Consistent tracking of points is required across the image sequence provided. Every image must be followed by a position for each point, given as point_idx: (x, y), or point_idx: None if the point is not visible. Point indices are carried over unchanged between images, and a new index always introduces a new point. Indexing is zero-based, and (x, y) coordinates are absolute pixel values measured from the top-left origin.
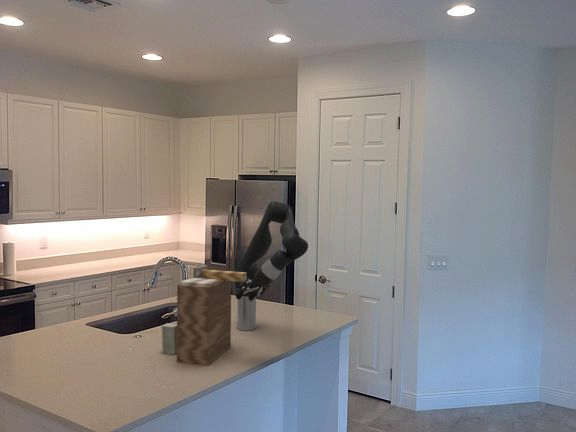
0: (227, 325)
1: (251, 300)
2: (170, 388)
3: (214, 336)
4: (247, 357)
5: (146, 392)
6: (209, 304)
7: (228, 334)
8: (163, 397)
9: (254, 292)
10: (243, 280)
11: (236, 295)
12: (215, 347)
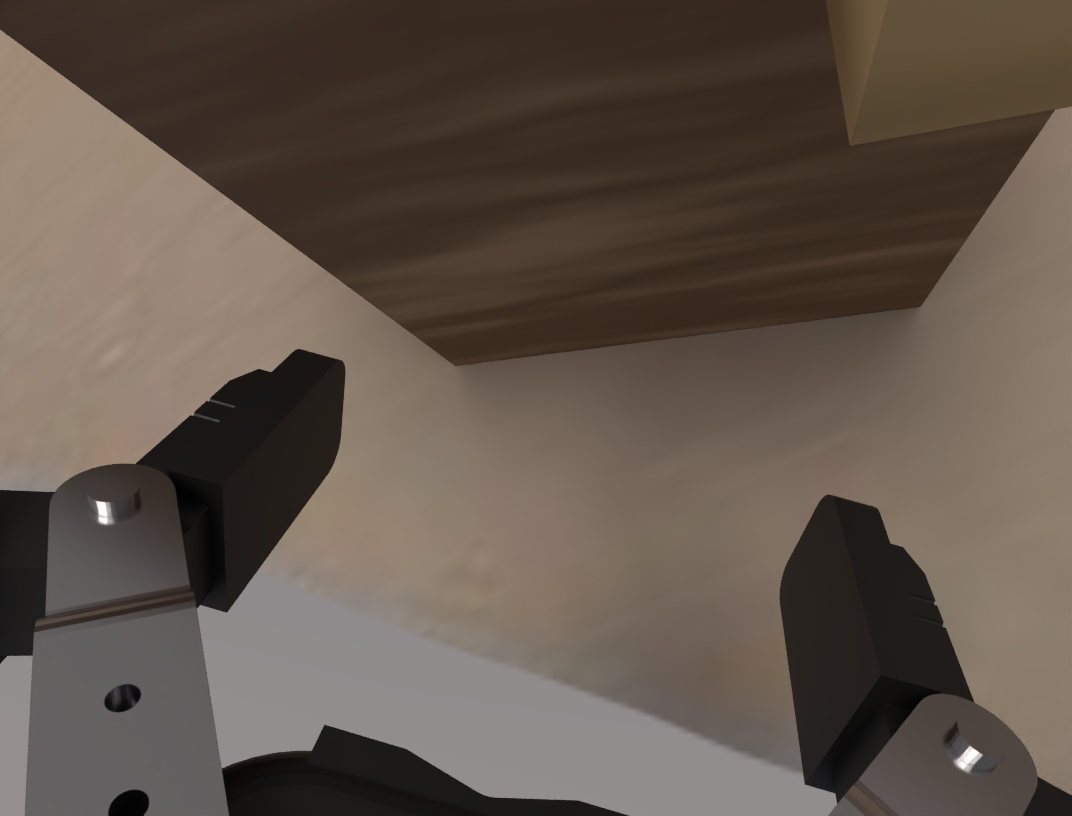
0: (872, 215)
1: (783, 611)
2: (100, 354)
3: (496, 281)
4: (742, 559)
5: (40, 277)
6: (98, 87)
7: (889, 258)
8: (6, 387)
9: (879, 715)
10: (856, 82)
11: (237, 388)
12: (552, 317)
